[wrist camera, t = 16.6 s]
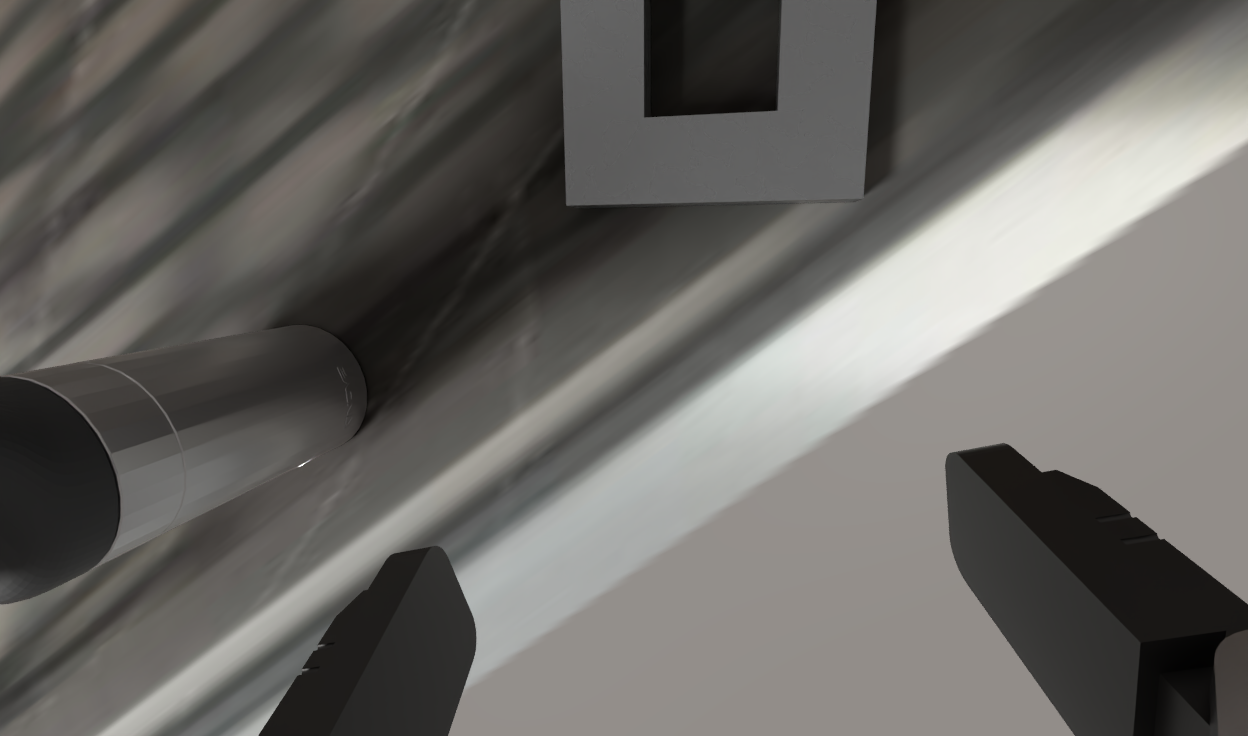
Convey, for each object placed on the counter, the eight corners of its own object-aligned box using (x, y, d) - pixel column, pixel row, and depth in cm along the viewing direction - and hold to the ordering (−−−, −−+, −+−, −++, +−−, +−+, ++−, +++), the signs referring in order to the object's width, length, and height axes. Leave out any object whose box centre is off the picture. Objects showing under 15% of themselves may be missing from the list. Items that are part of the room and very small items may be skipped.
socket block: (577, 208, 36) (566, 205, 34) (570, -89, 33) (557, -115, 31) (854, 202, 33) (863, 198, 31) (875, -126, 30) (887, -158, 28)
